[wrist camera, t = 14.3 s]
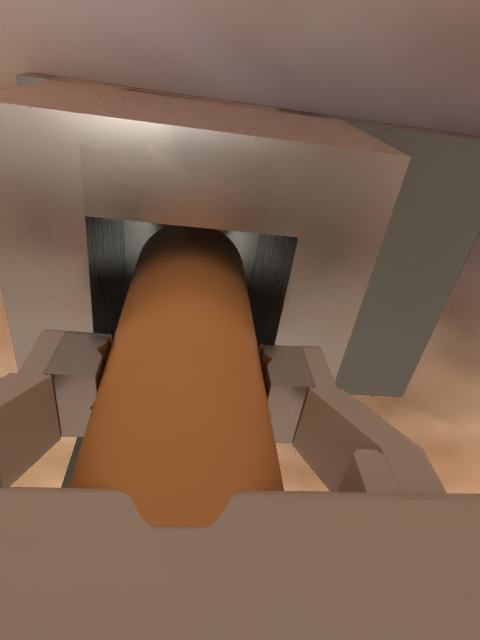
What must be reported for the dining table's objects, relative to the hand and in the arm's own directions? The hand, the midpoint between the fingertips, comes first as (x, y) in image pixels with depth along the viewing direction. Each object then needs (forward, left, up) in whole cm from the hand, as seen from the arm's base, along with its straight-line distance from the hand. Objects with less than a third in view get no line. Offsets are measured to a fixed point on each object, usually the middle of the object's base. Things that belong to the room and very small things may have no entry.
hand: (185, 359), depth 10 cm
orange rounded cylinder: (0, 0, -5) cm, 5 cm away
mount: (-3, +2, -9) cm, 10 cm away
